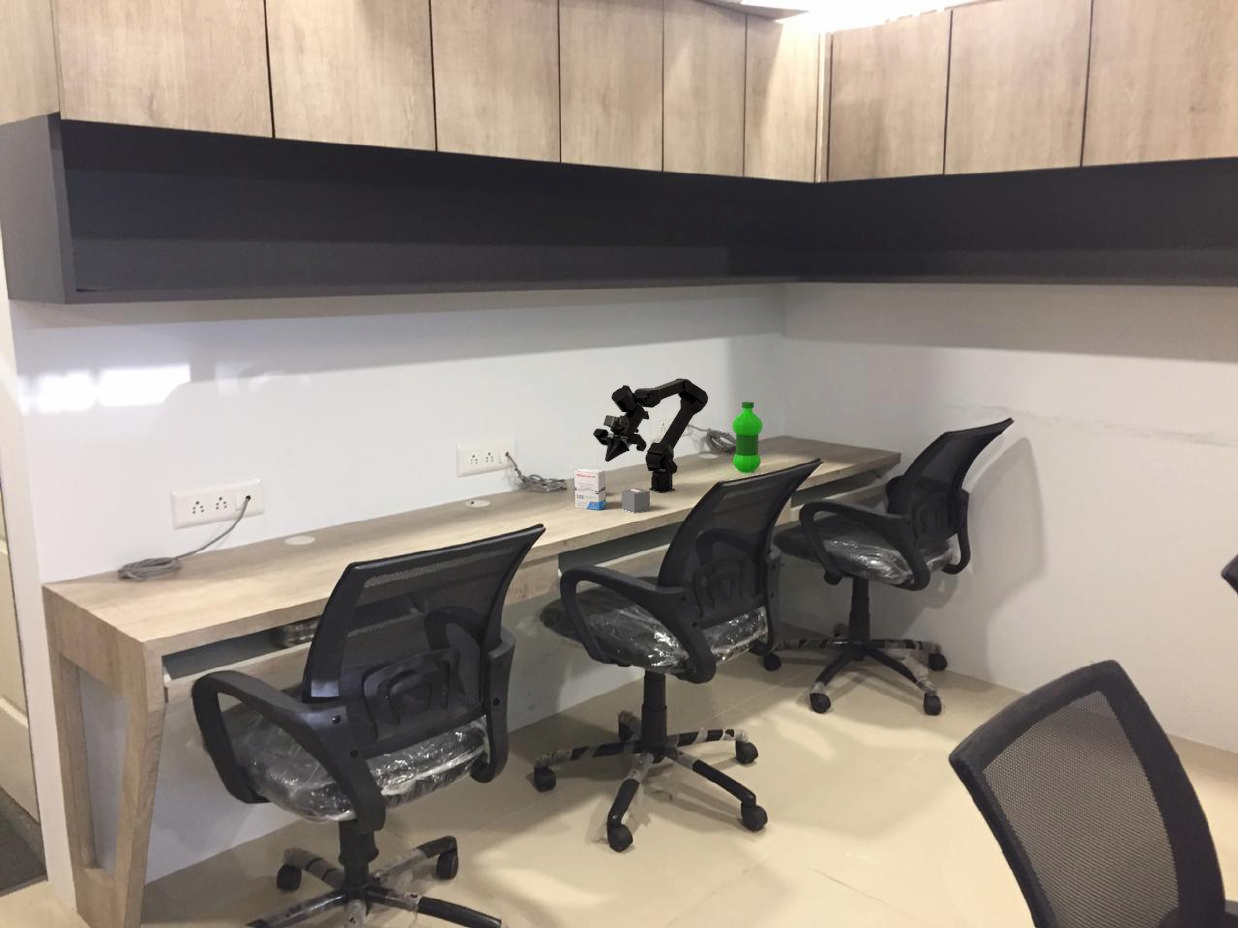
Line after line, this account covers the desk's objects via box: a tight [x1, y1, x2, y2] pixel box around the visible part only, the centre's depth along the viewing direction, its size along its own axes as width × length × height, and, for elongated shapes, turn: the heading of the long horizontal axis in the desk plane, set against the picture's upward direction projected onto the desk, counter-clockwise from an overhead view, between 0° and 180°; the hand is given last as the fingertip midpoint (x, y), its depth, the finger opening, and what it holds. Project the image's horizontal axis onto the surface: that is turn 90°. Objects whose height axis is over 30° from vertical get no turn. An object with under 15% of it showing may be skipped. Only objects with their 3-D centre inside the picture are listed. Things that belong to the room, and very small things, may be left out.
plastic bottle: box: [732, 401, 763, 474], centre depth 354 cm, size 10×10×25 cm
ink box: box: [573, 468, 607, 511], centre depth 301 cm, size 9×5×12 cm, turn 62°
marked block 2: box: [621, 487, 651, 514], centre depth 298 cm, size 6×6×6 cm
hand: (606, 461), depth 305 cm, fingers closed
